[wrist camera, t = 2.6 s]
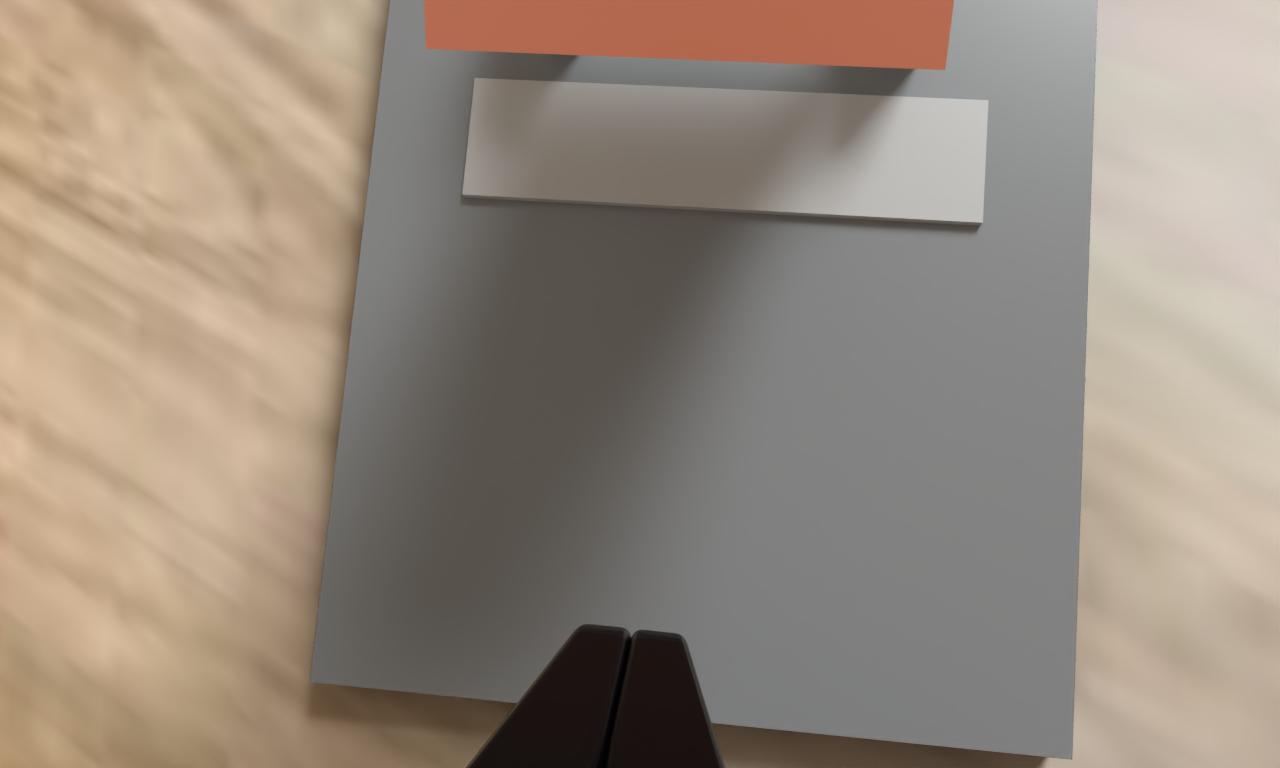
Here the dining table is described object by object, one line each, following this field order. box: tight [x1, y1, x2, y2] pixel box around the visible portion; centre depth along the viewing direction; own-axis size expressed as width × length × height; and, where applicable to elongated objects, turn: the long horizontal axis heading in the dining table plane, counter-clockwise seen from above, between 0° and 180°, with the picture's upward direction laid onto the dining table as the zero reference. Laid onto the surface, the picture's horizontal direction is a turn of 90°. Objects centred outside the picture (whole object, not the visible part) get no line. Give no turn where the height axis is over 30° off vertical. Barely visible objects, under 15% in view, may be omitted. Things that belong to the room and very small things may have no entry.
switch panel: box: [310, 0, 1098, 760], centre depth 21 cm, size 18×14×4 cm
